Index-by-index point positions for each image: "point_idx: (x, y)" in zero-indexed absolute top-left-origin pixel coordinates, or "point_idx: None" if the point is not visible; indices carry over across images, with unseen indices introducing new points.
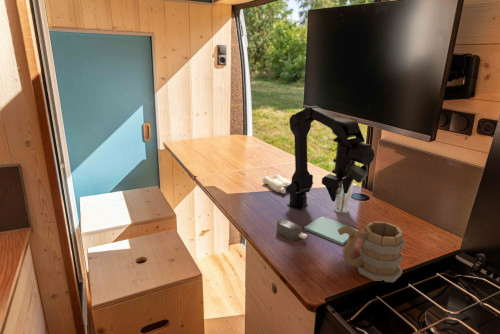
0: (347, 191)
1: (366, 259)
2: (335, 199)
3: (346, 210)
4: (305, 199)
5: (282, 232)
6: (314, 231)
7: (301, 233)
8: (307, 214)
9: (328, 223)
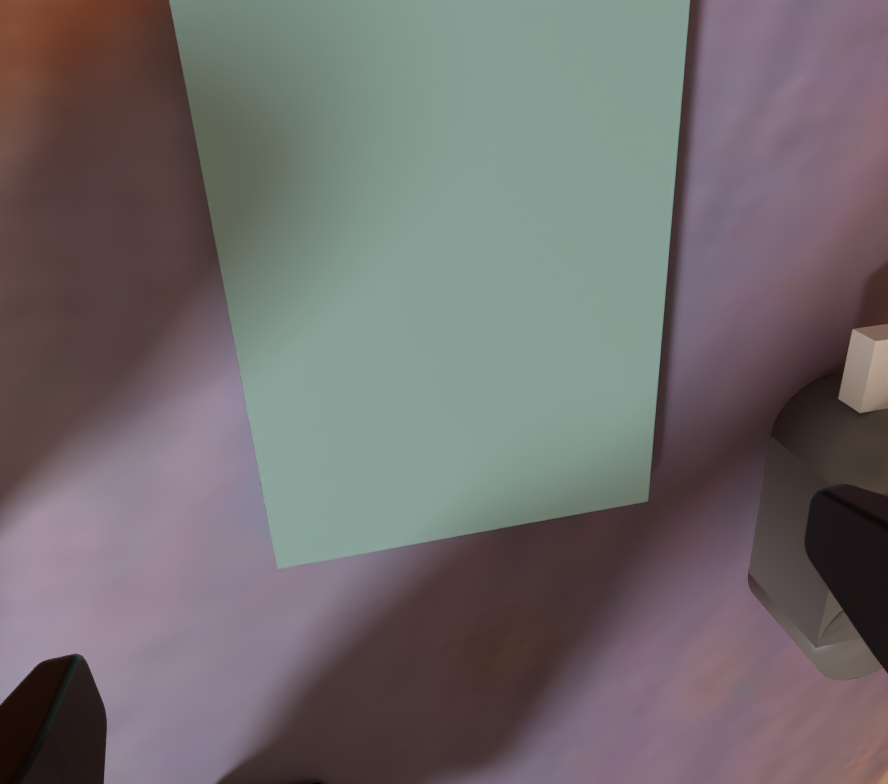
0: (48, 707)
1: None
2: (872, 509)
3: None
4: None
5: None
6: (657, 375)
7: (883, 396)
8: (331, 681)
9: (373, 401)
